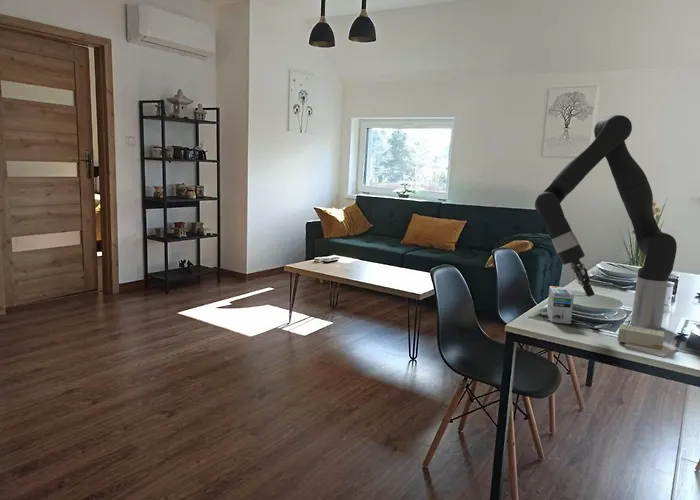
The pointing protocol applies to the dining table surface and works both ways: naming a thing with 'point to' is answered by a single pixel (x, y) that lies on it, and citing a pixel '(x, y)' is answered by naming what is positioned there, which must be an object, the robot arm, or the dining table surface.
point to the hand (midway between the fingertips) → (591, 295)
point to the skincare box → (641, 336)
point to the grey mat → (654, 349)
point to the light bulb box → (560, 304)
